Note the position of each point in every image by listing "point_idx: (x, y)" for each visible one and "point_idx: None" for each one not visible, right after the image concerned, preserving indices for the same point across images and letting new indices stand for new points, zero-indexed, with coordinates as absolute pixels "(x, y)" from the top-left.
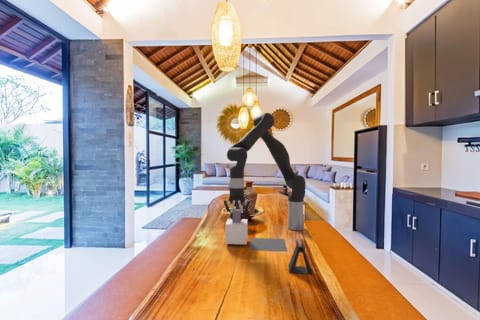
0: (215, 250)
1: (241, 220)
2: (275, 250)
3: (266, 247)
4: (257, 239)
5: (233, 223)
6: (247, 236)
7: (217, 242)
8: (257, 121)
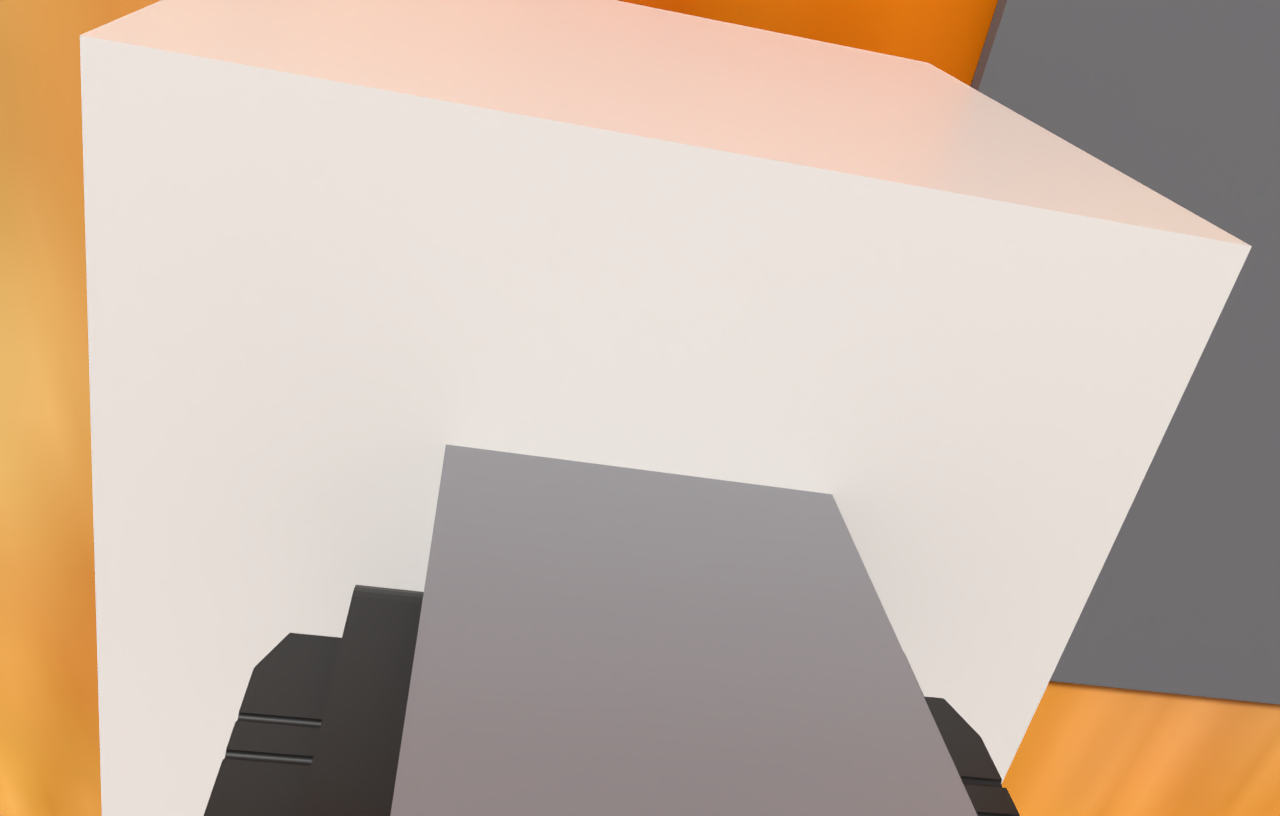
0: (90, 585)
1: (866, 458)
2: (1248, 680)
3: (1160, 548)
4: (1189, 26)
5: None
6: (936, 67)
7: (32, 87)
8: None
